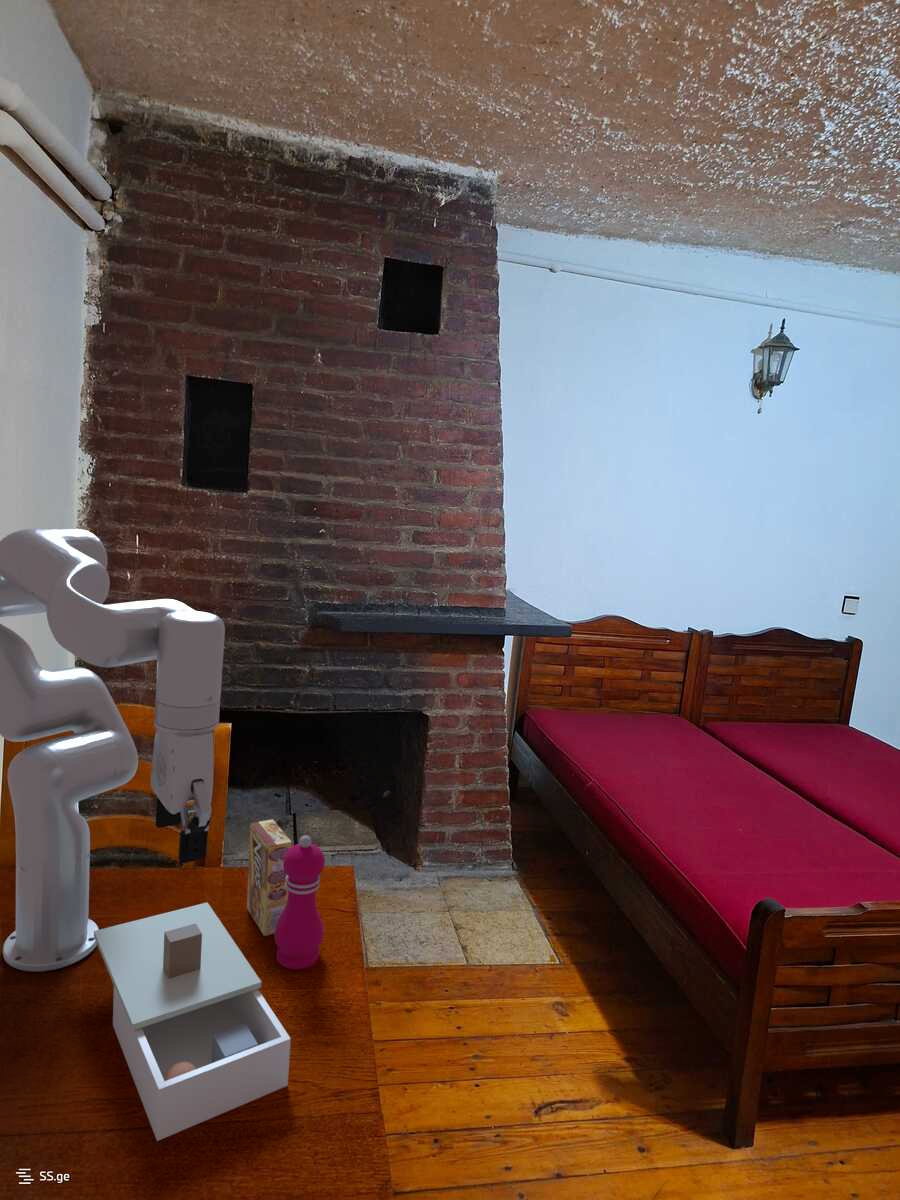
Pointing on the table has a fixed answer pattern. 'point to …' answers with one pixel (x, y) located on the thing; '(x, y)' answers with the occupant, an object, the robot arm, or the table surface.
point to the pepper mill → (300, 907)
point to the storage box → (203, 1061)
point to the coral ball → (179, 1069)
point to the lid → (173, 964)
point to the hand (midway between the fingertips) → (179, 842)
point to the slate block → (232, 1042)
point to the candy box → (267, 874)
